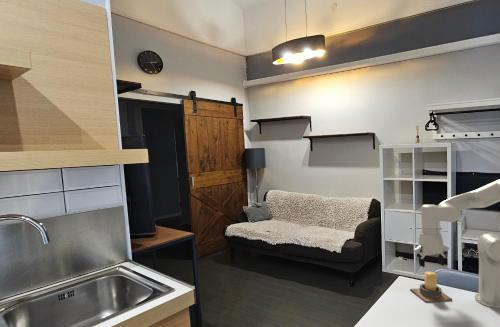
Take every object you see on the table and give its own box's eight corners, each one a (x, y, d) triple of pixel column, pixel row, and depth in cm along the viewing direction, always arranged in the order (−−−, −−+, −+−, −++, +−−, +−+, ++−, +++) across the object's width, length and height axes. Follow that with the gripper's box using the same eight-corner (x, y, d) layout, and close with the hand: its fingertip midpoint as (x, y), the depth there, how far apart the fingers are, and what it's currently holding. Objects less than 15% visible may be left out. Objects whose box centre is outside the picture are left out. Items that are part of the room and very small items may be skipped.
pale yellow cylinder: (432, 290, 153) (432, 271, 152) (439, 295, 148) (439, 275, 147) (422, 291, 153) (422, 271, 152) (429, 296, 148) (429, 276, 147)
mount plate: (434, 288, 157) (434, 281, 157) (452, 300, 145) (452, 292, 145) (410, 290, 156) (410, 283, 156) (425, 302, 144) (425, 294, 144)
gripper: (442, 227, 153) (443, 261, 154) (408, 229, 152) (409, 264, 152) (453, 231, 145) (454, 266, 146) (418, 234, 144) (419, 270, 145)
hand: (431, 265), depth 149 cm, fingers open, 9 cm apart
